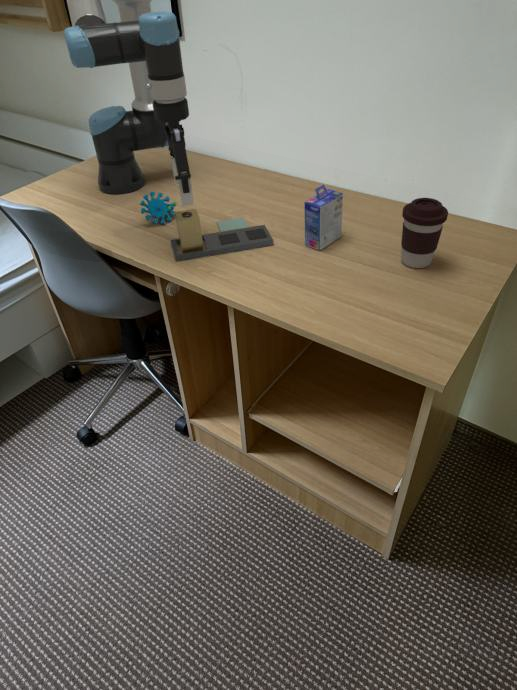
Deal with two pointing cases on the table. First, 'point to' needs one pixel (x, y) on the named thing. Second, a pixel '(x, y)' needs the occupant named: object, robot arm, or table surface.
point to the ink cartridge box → (323, 218)
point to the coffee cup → (421, 231)
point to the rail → (227, 242)
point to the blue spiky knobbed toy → (158, 208)
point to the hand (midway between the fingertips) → (183, 193)
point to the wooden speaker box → (189, 230)
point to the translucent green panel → (232, 224)
